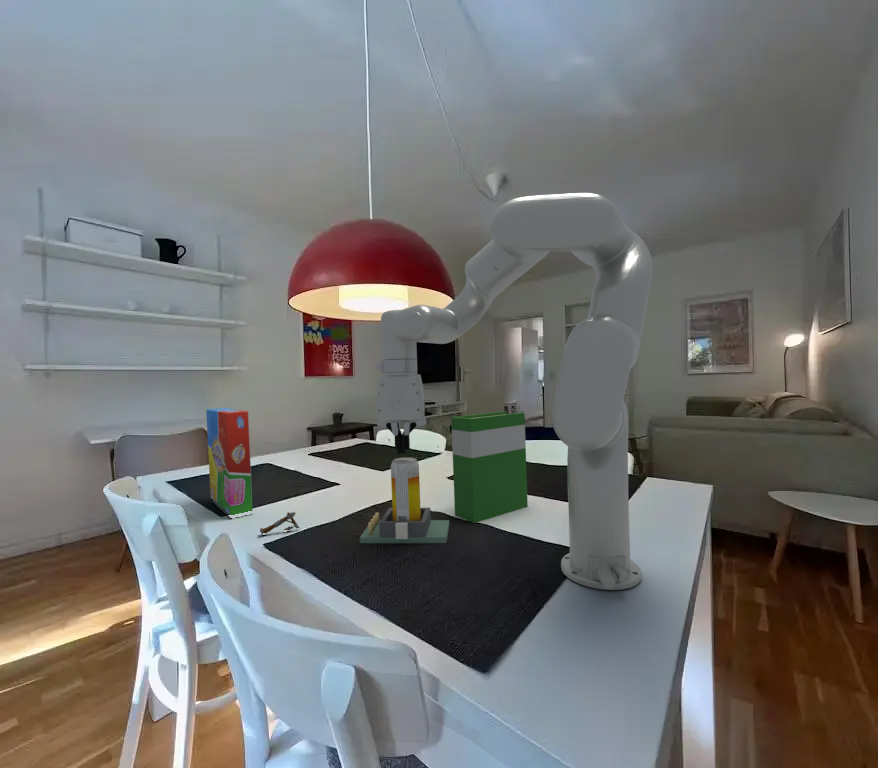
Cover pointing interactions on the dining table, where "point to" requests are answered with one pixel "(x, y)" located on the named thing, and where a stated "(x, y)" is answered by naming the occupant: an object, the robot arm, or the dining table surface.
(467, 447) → the green cereal box
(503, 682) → the dining table surface
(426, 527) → the header board
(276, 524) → the wooden post with brackets
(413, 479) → the beer can
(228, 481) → the game box
